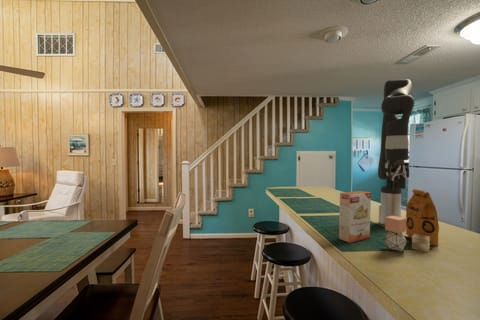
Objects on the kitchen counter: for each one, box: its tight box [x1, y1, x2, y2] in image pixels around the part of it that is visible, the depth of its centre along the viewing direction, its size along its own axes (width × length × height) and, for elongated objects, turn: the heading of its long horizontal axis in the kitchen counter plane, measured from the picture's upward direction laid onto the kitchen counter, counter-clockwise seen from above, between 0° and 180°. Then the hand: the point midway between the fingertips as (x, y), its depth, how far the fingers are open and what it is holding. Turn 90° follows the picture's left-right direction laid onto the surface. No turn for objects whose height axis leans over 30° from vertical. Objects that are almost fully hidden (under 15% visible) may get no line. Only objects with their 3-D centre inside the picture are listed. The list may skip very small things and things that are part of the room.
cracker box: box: [338, 190, 372, 244], centre depth 106 cm, size 14×6×21 cm, turn 118°
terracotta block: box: [384, 216, 406, 234], centre depth 93 cm, size 5×5×5 cm
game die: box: [382, 230, 410, 254], centre depth 93 cm, size 9×8×10 cm
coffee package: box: [405, 188, 440, 247], centre depth 104 cm, size 10×12×22 cm
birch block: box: [411, 234, 431, 253], centre depth 95 cm, size 5×5×5 cm
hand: (396, 189), depth 93 cm, fingers open, 8 cm apart
